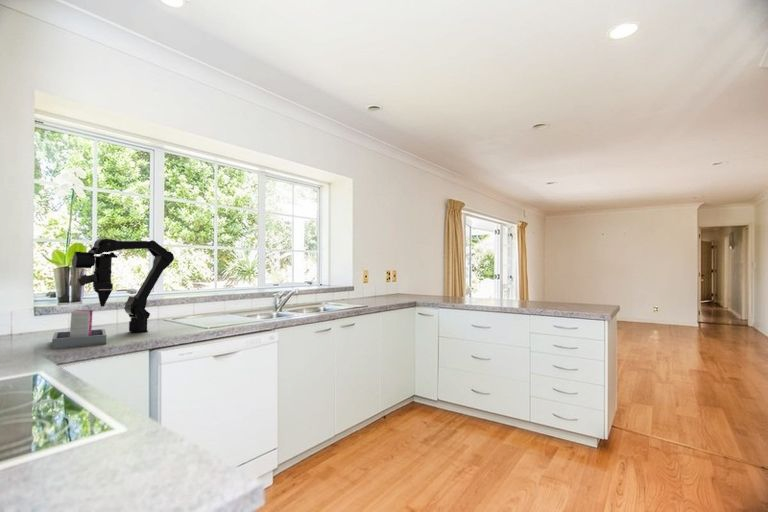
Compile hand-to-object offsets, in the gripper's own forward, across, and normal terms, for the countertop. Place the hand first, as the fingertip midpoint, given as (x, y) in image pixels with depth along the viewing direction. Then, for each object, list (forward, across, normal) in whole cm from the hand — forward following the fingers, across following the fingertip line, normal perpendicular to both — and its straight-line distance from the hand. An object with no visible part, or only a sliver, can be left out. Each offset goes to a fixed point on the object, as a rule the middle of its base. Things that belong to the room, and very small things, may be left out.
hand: (101, 305), depth 168 cm
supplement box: (+12, +12, -7) cm, 18 cm away
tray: (+13, +12, -7) cm, 19 cm away
